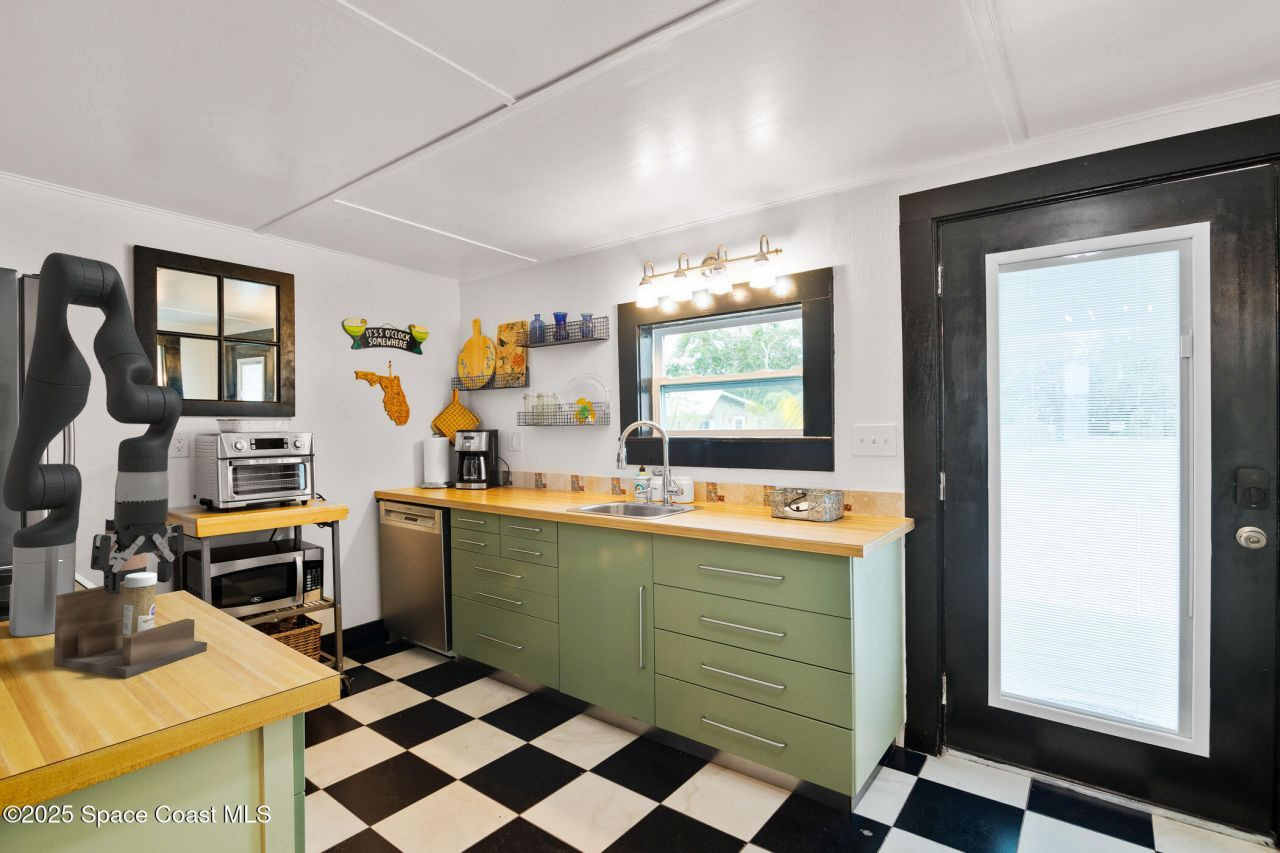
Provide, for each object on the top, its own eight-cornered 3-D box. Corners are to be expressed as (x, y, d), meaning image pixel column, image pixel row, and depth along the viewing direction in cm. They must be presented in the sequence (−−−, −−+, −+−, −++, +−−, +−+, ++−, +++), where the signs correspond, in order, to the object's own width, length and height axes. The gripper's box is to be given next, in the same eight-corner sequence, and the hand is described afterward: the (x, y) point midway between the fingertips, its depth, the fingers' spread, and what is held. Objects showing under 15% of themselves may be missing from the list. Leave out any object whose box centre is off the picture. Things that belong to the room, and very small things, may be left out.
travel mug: (148, 605, 145) (150, 518, 145) (105, 611, 139) (107, 521, 139) (142, 598, 150) (144, 514, 150) (100, 604, 144) (102, 517, 144)
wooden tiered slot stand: (53, 665, 108) (55, 595, 108) (139, 640, 121) (141, 577, 121) (126, 678, 103) (128, 605, 103) (206, 650, 116) (208, 585, 117)
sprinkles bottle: (152, 651, 111) (156, 575, 111) (119, 655, 109) (122, 577, 109) (154, 643, 115) (158, 570, 115) (122, 647, 113) (126, 572, 113)
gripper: (166, 491, 120) (163, 576, 120) (81, 499, 106) (78, 595, 106) (196, 494, 118) (193, 580, 118) (114, 502, 104) (110, 600, 104)
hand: (138, 587), depth 112 cm, fingers open, 8 cm apart
